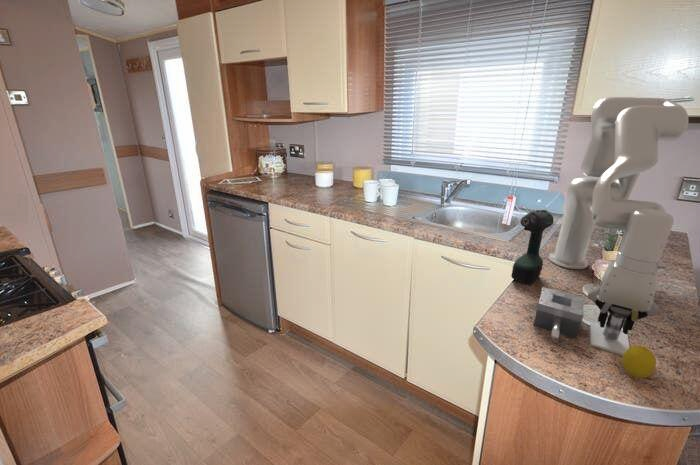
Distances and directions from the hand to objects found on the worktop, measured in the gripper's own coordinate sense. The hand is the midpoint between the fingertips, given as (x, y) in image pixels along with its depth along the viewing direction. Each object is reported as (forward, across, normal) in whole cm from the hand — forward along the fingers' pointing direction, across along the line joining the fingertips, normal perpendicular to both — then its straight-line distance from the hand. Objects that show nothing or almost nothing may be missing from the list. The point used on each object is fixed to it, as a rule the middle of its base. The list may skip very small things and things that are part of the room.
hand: (613, 327), depth 88 cm
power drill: (+4, +23, -22) cm, 32 cm away
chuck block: (+4, +12, +3) cm, 13 cm away
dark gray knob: (+2, 0, 0) cm, 3 cm away
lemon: (+4, -4, +12) cm, 13 cm away
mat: (+4, 0, 0) cm, 4 cm away
